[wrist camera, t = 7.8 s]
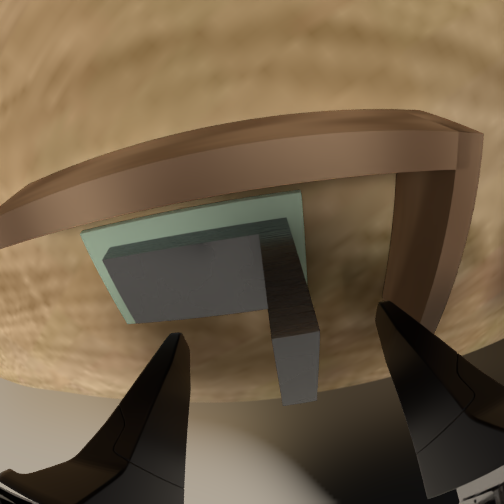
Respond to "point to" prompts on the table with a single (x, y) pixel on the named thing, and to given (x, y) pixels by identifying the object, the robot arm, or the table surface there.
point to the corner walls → (283, 173)
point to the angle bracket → (228, 289)
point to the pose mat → (195, 228)
